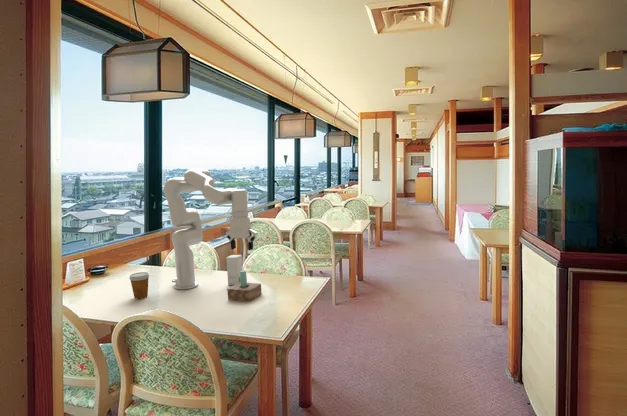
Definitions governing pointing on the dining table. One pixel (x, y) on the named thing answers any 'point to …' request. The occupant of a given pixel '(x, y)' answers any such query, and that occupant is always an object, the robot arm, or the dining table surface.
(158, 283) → the dining table surface
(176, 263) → the robot arm
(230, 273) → the skincare box
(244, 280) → the peg
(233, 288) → the socket block
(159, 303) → the dining table surface
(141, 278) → the disposable coffee cup
